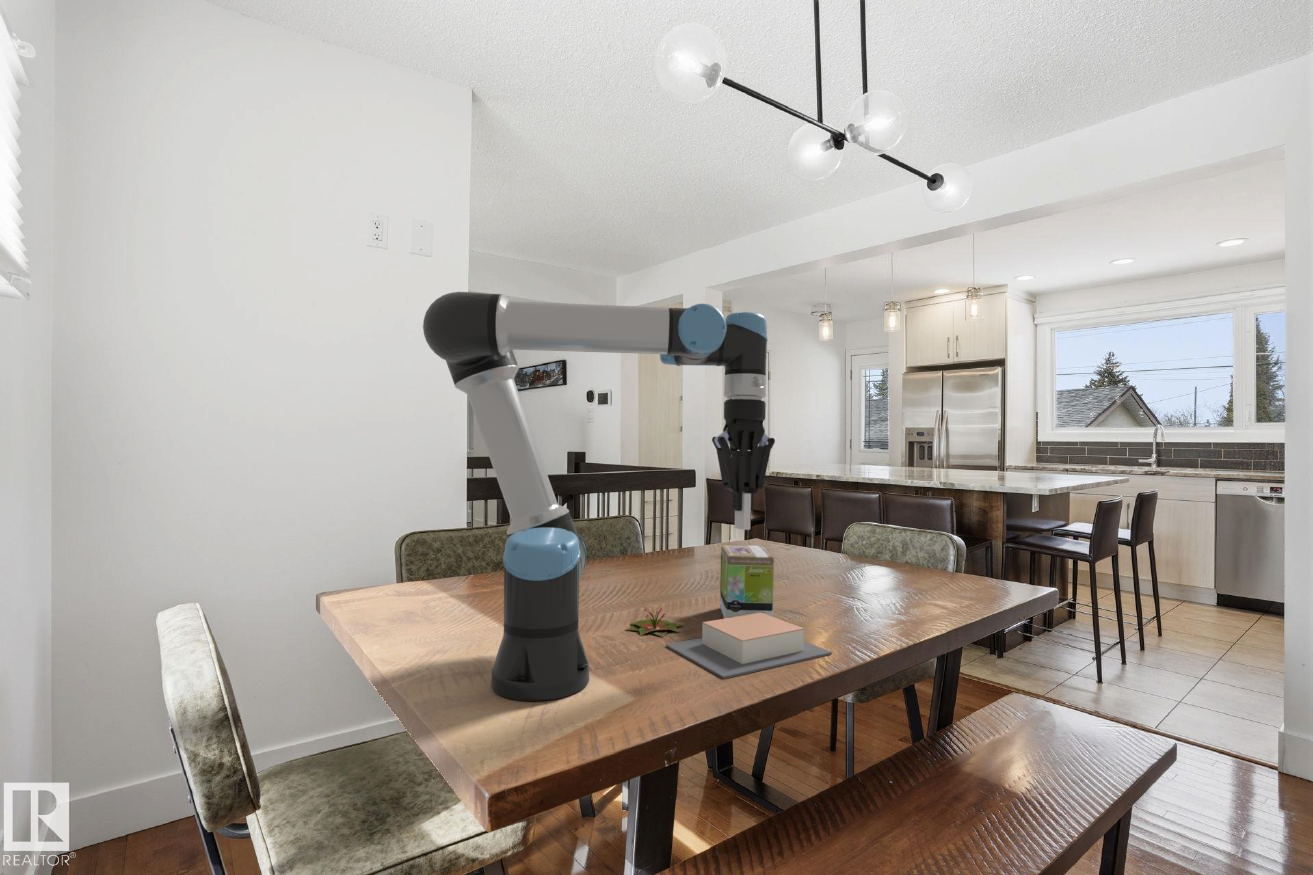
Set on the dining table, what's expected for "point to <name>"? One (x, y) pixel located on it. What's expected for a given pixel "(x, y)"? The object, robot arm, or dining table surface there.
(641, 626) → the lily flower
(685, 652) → the mat
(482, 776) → the dining table surface
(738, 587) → the tea box
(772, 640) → the cream rectangular block
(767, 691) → the dining table surface
